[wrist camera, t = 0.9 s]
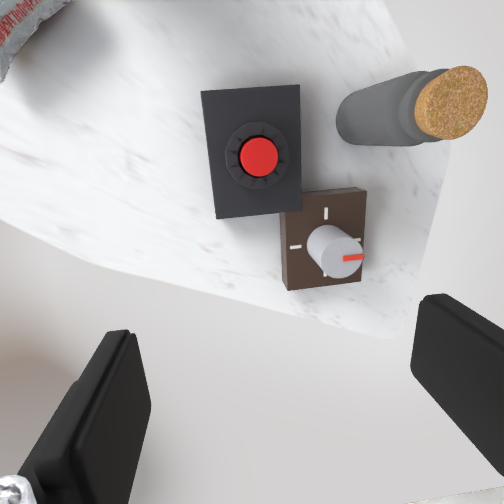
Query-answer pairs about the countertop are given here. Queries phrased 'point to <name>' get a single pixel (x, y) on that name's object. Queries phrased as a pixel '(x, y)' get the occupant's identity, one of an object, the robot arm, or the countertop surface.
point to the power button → (259, 156)
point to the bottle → (414, 108)
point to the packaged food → (21, 25)
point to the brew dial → (334, 251)
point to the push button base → (242, 130)
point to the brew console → (306, 221)
